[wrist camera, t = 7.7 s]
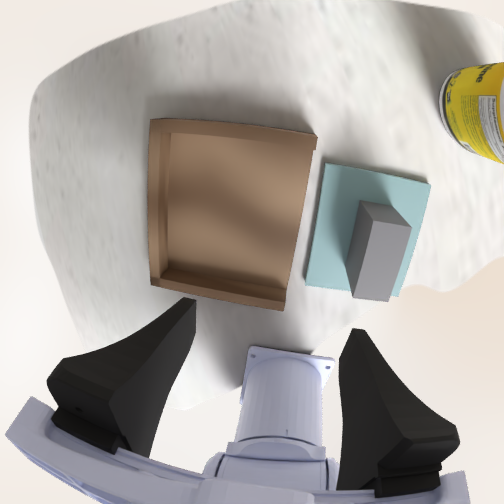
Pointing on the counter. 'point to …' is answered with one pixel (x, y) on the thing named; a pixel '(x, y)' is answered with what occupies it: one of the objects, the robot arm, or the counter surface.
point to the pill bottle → (475, 109)
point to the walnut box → (225, 208)
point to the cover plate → (343, 216)
